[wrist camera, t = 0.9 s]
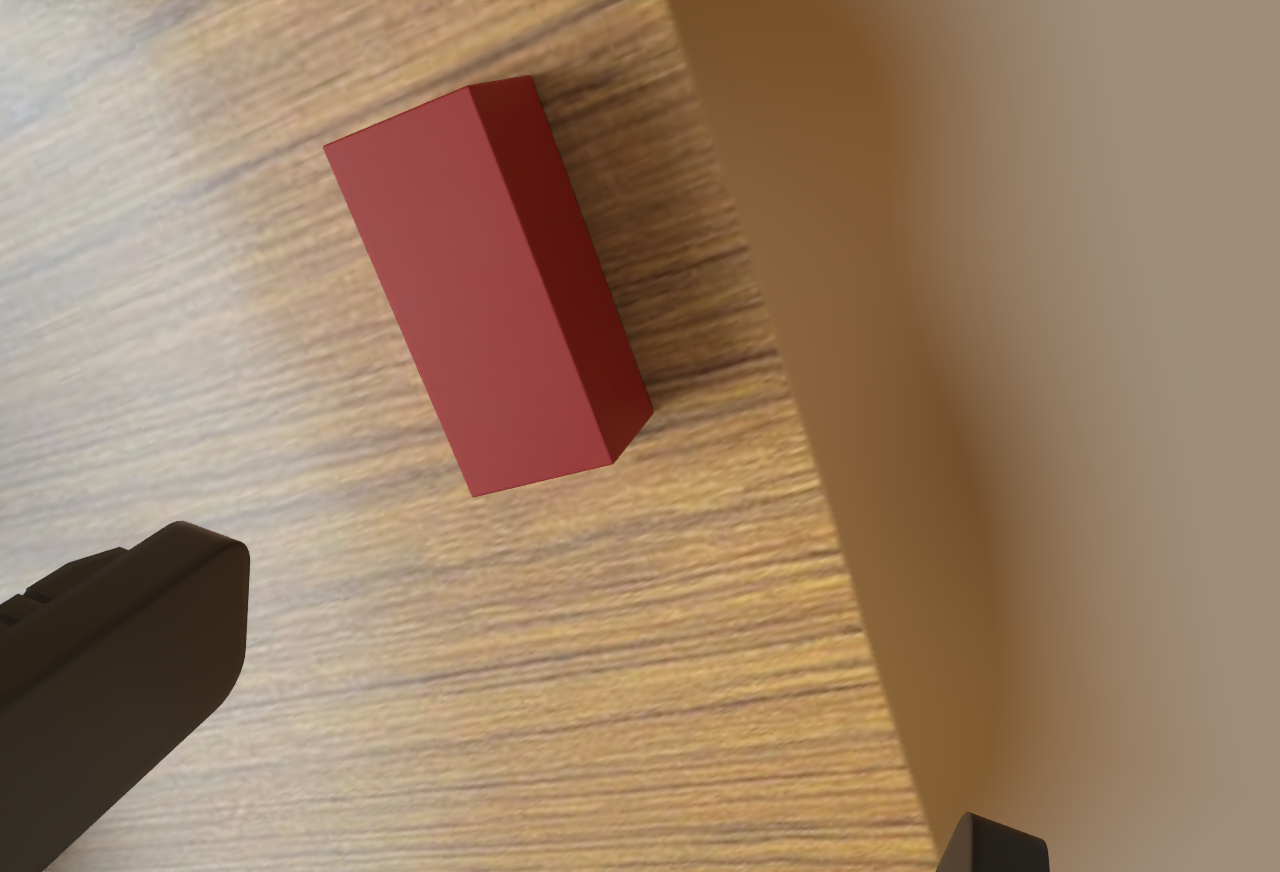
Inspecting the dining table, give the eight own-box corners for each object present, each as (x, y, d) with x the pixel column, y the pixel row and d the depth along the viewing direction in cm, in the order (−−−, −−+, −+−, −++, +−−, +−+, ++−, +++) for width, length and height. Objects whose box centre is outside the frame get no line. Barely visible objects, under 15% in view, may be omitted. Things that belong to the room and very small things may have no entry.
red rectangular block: (396, 129, 27) (321, 146, 24) (530, 74, 25) (468, 85, 22) (525, 445, 29) (471, 498, 26) (655, 412, 28) (614, 464, 25)
